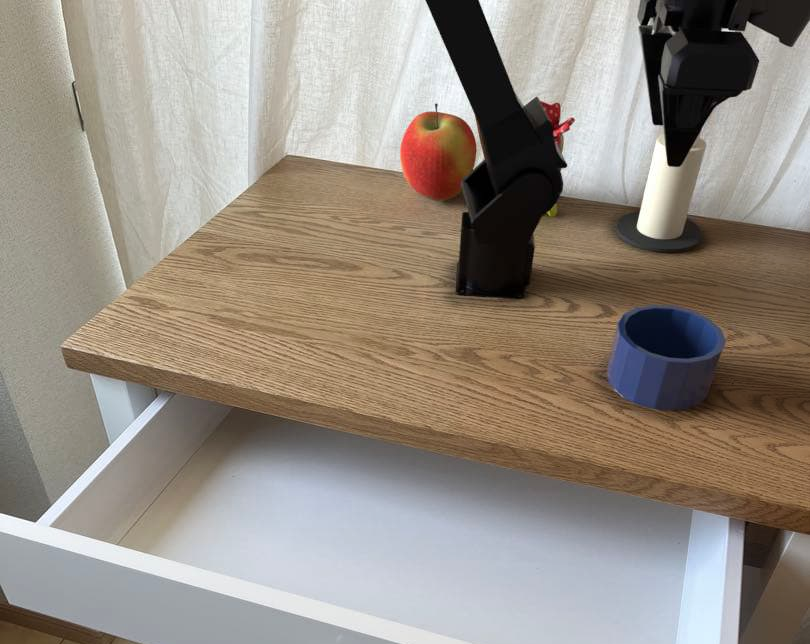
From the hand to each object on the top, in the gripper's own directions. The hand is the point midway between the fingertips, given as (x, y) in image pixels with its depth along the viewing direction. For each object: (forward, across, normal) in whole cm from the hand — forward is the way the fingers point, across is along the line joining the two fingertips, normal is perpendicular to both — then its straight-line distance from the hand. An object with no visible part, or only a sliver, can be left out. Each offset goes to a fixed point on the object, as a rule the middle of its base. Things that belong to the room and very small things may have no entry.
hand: (665, 144), depth 72 cm
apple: (+13, +17, +20) cm, 29 cm away
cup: (+13, -17, 0) cm, 21 cm away
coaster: (+13, +11, -4) cm, 17 cm away
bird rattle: (+13, +16, +9) cm, 23 cm away
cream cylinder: (+13, +11, -4) cm, 17 cm away
